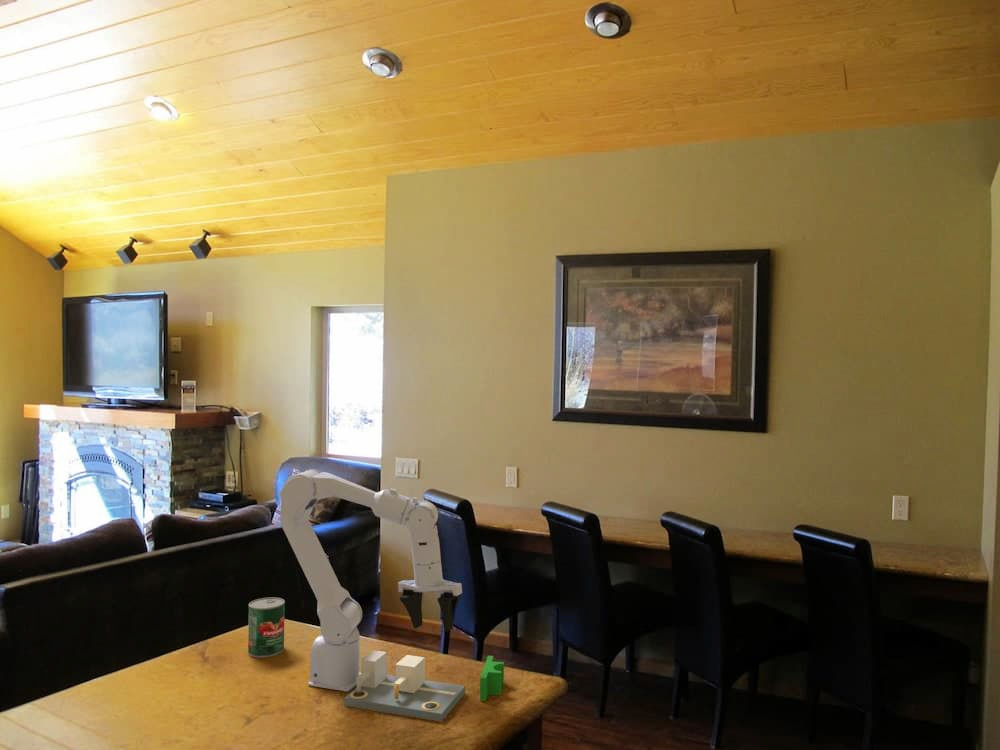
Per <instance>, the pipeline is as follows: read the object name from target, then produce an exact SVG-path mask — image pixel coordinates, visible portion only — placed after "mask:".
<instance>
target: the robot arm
mask: <svg viewBox="0 0 1000 750" xmlns="http://www.w3.org/2000/svg"><path fill="white" fill-rule="evenodd" d="M279 497H280V499H281V502H280V516H279V518H280V519H279V521H280V522H279V523H280V526H281V528H282V530H283V532H284V534H285V537H287V539H288V543H289V544H290V546H291V549H292V550H293V552H294V554H295V557H296V559H297V562H298V564H299V565H300V567H301V569H302V571H303V573H304V576H305V577H306V579H307V582H308V584H309V585H310V588H311V590H312V592H313V593H314V596H315V598H316V600H317V609H316V611H317V612H316V613H317V616H318V618H319V622H320V634H321V635H320V634H319V636H317V637H316V638H315V639H314V641H313V643H312V645H311V649H310V657H309V658H310V662H309V663H310V666H309V668H310V671H309V672H310V674H309V676H310V678H309V679H310V681H308V683H307V686H311V687H317V688H322V689H327V690H328V689H329V690H335V691H342V692H350V691H352V690H353V689H355V688H356V687H357V682H356V677H358V676H359V675H360V674H361V671H360V643H361V642H360V638H361V636H360V631H359V629H358V625H359V624H360V623H361V621H362V618H363V609H362V607H361V605H360V604H359V602H357V601H356V600H354V598H352V597H351V595H350V593H349V591H348V590H347V589H345V588H344V587H343V586H341V583H340V582H339V580H338V576H337V575H336V574H335V571H334V569H333V567H332V565H331V562H330V561H329V558H328V557H327V555H326V553H325V551H324V548H323V547H322V545H321V542H320V541H319V538H318V536H317V535H316V532H315V530H314V527H313V526H312V523H311V522H310V516H311V513H312V512H313V509H314V506H315V504H316V503H317V502H318V501H320V500H323V499H327V498H331V497H332V498H333V497H335V498H338V499H339V498H340V499H341V500H345V501H349V502H352V503H355V504H359V505H362V506H365V507H368V508H370V509H371V510H372V512H373V514H374V516H375V517H378V518H382V519H384V520H387V521H390V522H392V523H395V524H398V525H401V526H403V527H404V526H406V527H407V529H408V530H409V531H410V538H411V540H410V547H411V557H412V567H413V578H414V579H409V580H407V579H404V580H401V581H399V582H397V586H398V587H397V588H398V593H402V595H400V596H399V601H400V602H401V603H402V604H403V605H404V607H405V609H406V611H407V614H408V615H409V618H410V620H411V623H412V625H413V629H418V628H420V627H421V626H423V611H422V608H423V607H422V605H423V604H422V603H423V601H422V600H423V595H424V594H423V593H426V594H428V593H429V594H440V595H441V596H440V597H438V598H437V602H438V604H439V605H438V606H439V607H440V610H441V615H442V623H443V628H444V629H443V630H444V631H445V632H449V631H451V630H453V629H454V622H455V621H454V620H455V615H456V610H457V607H458V604H459V601H460V599H461V596H462V594H463V586H462V585H463V584H462V583H461V582H455V581H454V582H453V581H450V580H446V579H444V578H443V570H442V559H441V558H442V557H441V556H442V555H441V547H440V546H441V545H440V539H439V535H438V533H439V531H438V526H437V525H436V524H437V521H438V519H439V511H438V509H437V507H436V505H435V504H433V503H432V502H430V501H429V500H427V499H422V500H421V499H420V500H419V497H417V496H416V497H415V496H414V497H410V496H406V495H403V494H400V493H398V490H397V489H395V488H393V487H391V488H390V489H386V488H385V489H382V490H380V491H378V492H377V491H374V490H372V489H369V488H368V487H364V486H362V485H359V484H357V483H355V482H352V481H350V480H348V479H345V478H342V477H339V476H337V475H334V474H332V473H330V472H325V471H323V472H322V471H320V470H318V469H315V468H310V469H307V470H304V471H302V472H300V473H297V474H292V475H290V476H289V477H288V478H287V479H286V480H285V482H284V484H283V486H282V487H281V489H280V492H279Z"/></svg>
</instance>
